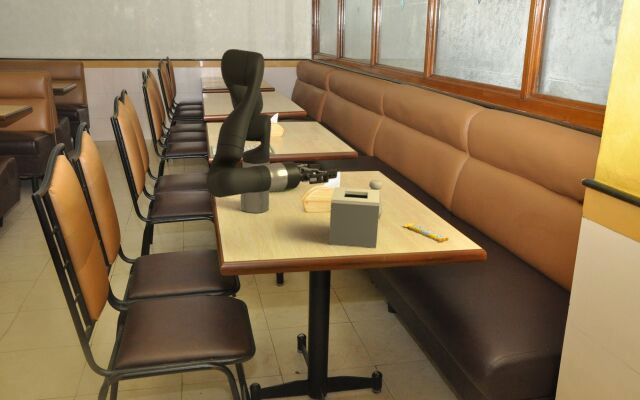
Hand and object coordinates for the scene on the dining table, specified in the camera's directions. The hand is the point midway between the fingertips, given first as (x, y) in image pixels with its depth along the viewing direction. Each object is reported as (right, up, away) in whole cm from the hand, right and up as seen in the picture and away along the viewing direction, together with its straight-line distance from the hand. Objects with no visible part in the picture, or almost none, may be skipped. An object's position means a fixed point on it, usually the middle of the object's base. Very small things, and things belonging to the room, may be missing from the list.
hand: (327, 170), depth 168 cm
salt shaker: (+16, -15, +33) cm, 40 cm away
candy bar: (+32, -20, +19) cm, 42 cm away
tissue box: (+8, -20, +12) cm, 25 cm away
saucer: (-21, -4, +66) cm, 69 cm away
